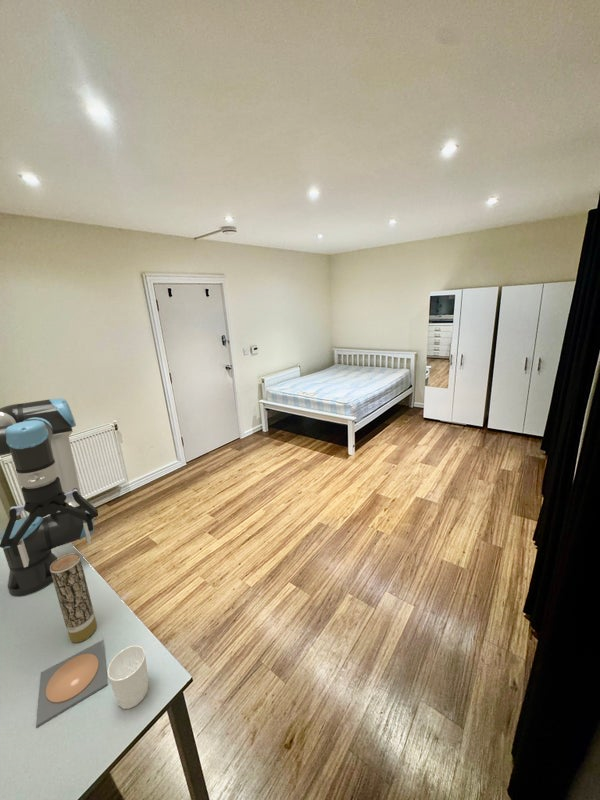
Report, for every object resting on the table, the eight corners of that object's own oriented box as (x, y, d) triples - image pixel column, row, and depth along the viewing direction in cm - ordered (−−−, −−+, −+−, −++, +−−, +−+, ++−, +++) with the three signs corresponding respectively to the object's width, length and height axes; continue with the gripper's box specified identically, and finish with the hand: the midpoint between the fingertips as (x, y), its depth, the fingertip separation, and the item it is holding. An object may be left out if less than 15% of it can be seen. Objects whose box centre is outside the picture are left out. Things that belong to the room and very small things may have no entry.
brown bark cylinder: (83, 646, 87) (63, 572, 82) (63, 642, 89) (43, 569, 83) (102, 623, 94) (85, 554, 88) (84, 620, 95) (66, 551, 89)
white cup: (142, 668, 81) (136, 638, 79) (157, 689, 76) (150, 658, 74) (110, 696, 75) (102, 665, 73) (123, 721, 70) (115, 688, 68)
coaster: (41, 674, 81) (40, 670, 80) (103, 641, 89) (102, 638, 88) (36, 728, 70) (35, 724, 69) (108, 685, 78) (107, 681, 77)
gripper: (-34, 506, 67) (-7, 584, 73) (99, 472, 82) (114, 539, 87) (-26, 492, 73) (-1, 565, 79) (97, 462, 87) (111, 526, 93)
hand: (59, 552), depth 83 cm, fingers open, 13 cm apart
